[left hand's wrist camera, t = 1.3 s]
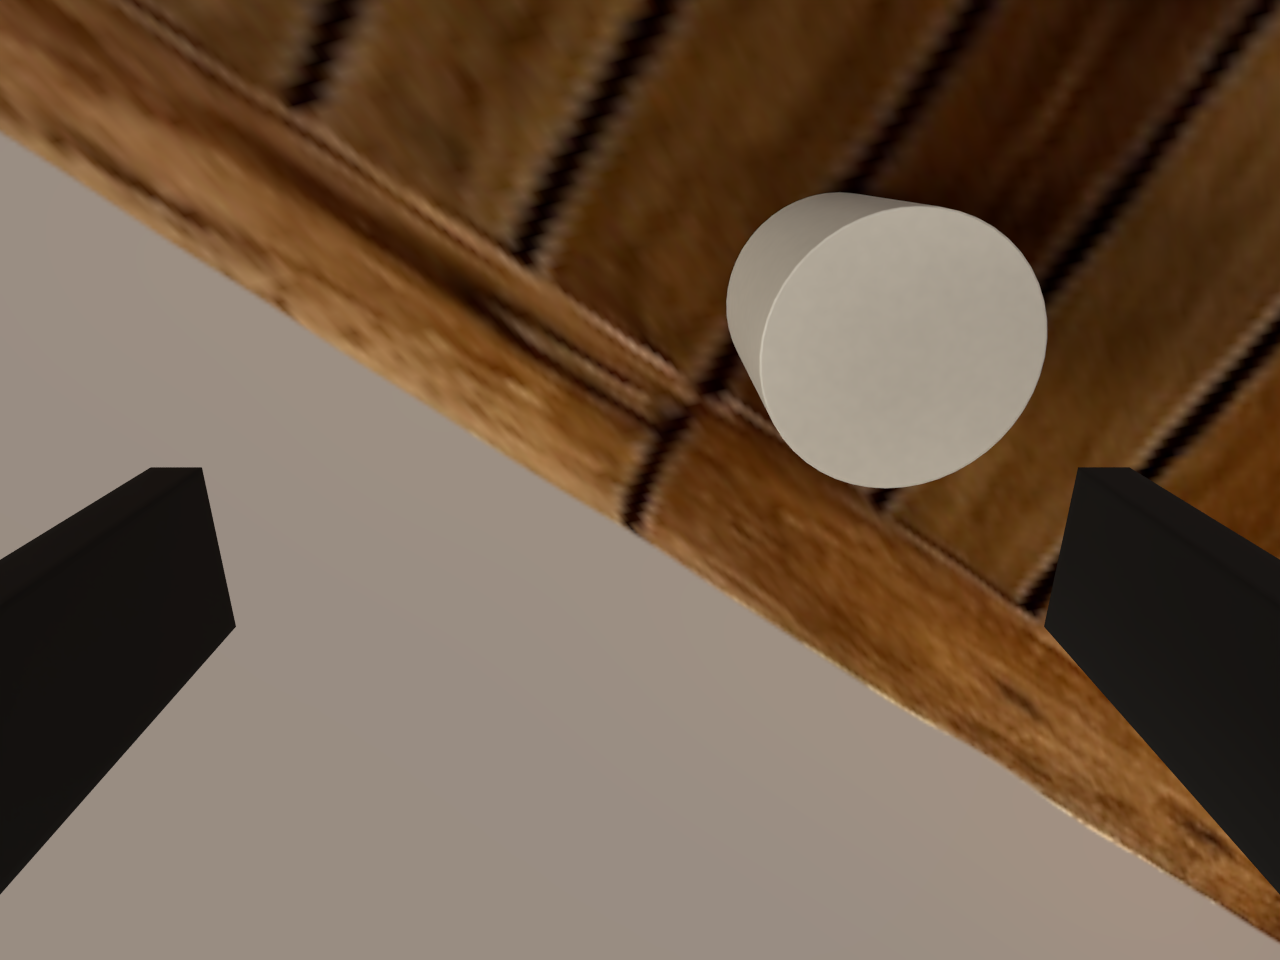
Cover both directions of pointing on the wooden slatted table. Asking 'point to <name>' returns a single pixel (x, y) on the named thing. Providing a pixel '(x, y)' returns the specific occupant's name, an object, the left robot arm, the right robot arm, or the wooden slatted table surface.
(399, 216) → the wooden slatted table surface
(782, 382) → the can
